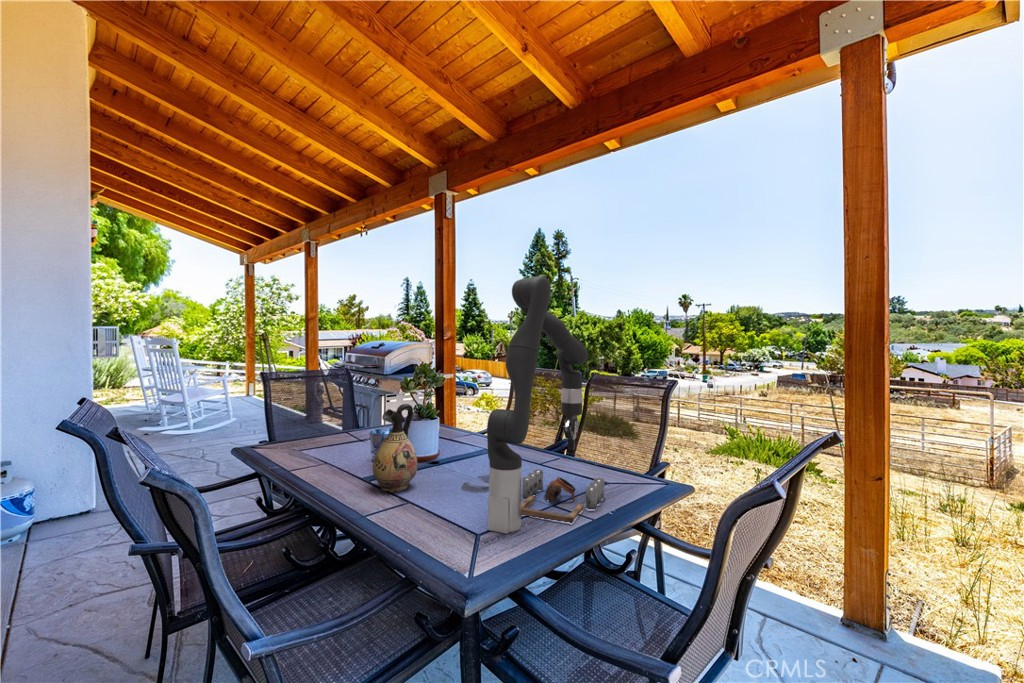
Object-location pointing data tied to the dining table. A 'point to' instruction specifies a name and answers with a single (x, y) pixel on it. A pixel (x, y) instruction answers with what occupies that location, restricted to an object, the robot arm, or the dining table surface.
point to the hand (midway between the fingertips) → (571, 449)
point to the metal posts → (536, 483)
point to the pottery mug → (558, 489)
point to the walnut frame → (548, 515)
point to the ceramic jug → (396, 453)
